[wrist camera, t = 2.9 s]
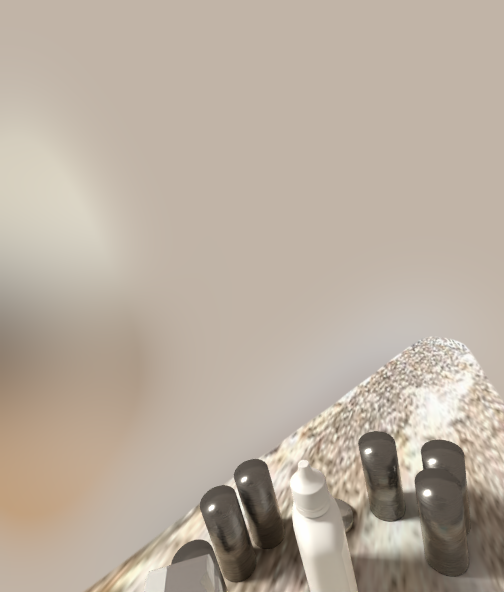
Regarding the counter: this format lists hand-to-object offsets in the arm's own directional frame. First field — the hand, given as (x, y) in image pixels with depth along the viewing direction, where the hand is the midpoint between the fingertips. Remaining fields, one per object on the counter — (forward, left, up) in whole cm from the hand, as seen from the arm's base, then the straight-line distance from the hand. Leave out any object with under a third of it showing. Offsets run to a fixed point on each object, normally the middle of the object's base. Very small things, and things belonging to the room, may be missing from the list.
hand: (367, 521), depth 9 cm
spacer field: (+1, +16, -21) cm, 27 cm away
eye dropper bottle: (0, +13, -21) cm, 25 cm away
